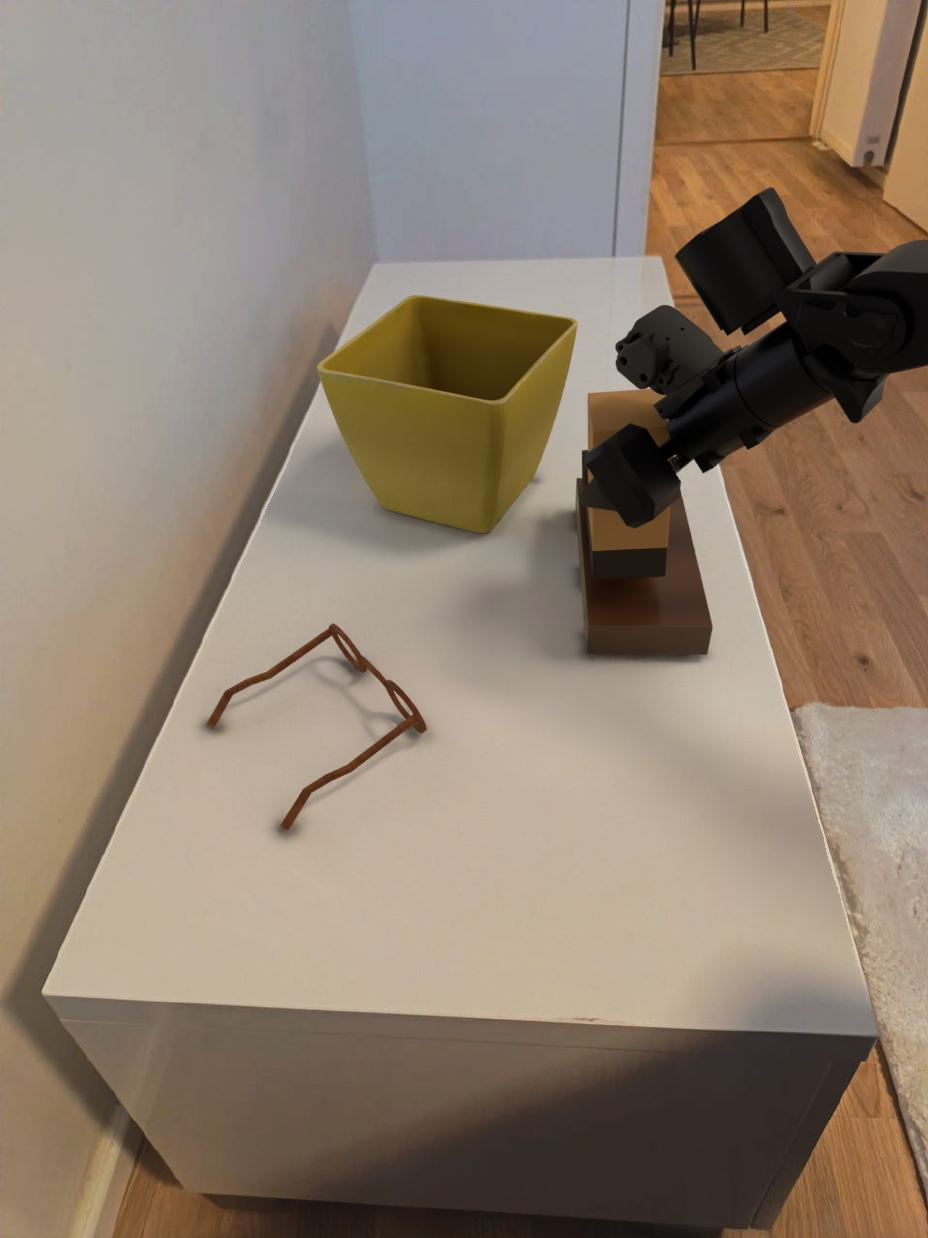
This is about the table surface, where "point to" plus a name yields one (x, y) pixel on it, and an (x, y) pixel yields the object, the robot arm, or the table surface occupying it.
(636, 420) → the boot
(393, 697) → the glasses
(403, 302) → the flower pot
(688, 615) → the brown wooden slab
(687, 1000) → the table surface
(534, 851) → the table surface
